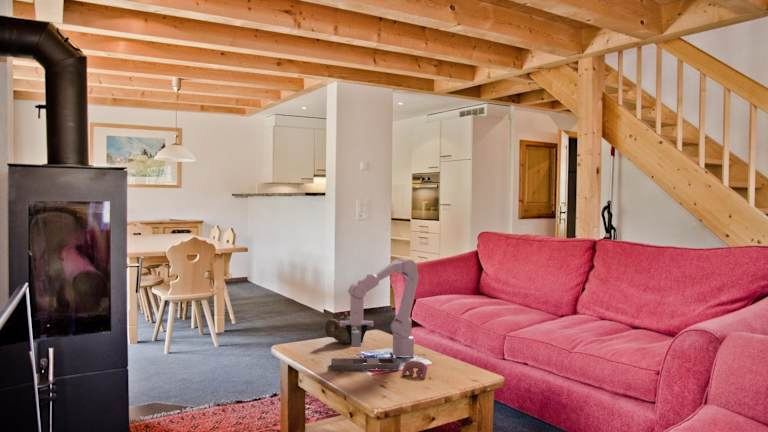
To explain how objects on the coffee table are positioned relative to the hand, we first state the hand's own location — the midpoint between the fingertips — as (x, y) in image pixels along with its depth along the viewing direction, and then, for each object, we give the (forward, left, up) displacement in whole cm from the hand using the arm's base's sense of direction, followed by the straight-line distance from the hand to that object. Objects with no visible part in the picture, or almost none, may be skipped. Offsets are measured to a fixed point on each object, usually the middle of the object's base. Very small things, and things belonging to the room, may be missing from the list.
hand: (356, 342), depth 241 cm
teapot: (+5, -28, -9) cm, 29 cm away
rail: (-3, +7, -8) cm, 12 cm away
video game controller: (-23, +18, -9) cm, 31 cm away
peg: (0, 0, -2) cm, 2 cm away
